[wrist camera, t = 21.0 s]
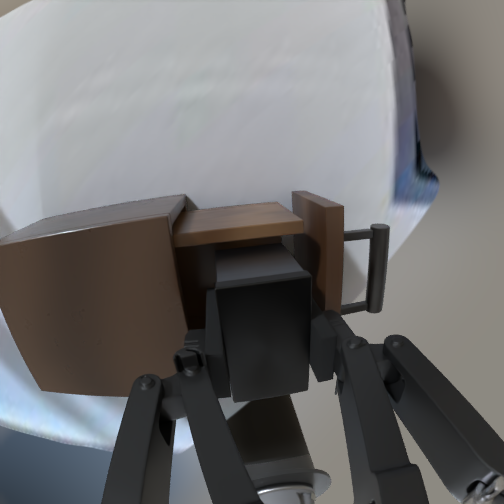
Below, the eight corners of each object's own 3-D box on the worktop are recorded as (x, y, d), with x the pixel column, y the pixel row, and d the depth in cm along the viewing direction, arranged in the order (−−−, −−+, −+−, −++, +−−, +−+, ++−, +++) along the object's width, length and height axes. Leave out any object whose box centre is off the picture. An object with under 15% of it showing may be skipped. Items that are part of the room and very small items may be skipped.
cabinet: (185, 193, 23) (167, 215, 14) (205, 324, 27) (204, 394, 18) (43, 218, 22) (-19, 249, 13) (76, 332, 26) (41, 391, 17)
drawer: (357, 187, 24) (409, 201, 17) (353, 301, 28) (391, 344, 20) (143, 208, 22) (112, 231, 15) (167, 327, 26) (155, 383, 19)
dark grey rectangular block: (283, 240, 17) (312, 275, 12) (286, 338, 20) (308, 390, 15) (212, 248, 17) (214, 288, 12) (227, 347, 19) (233, 403, 14)
